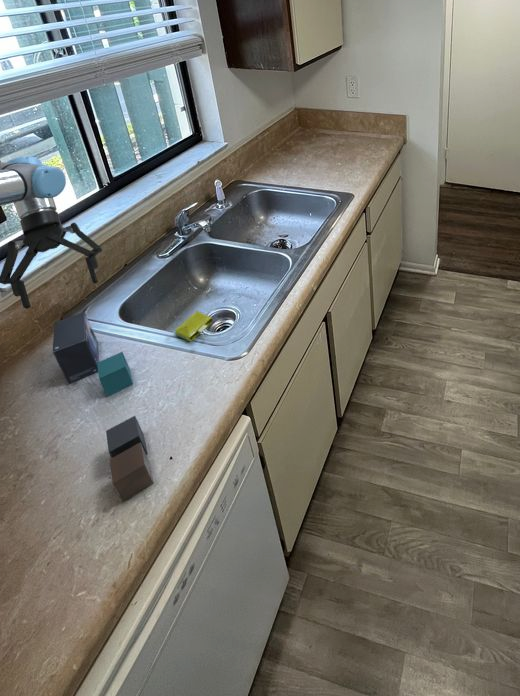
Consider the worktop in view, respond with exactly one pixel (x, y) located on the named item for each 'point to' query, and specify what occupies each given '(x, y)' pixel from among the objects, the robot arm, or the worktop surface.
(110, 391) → the teal block
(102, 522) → the worktop surface
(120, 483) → the walnut block
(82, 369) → the small box
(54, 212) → the robot arm
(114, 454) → the charcoal block
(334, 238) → the worktop surface
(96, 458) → the worktop surface
